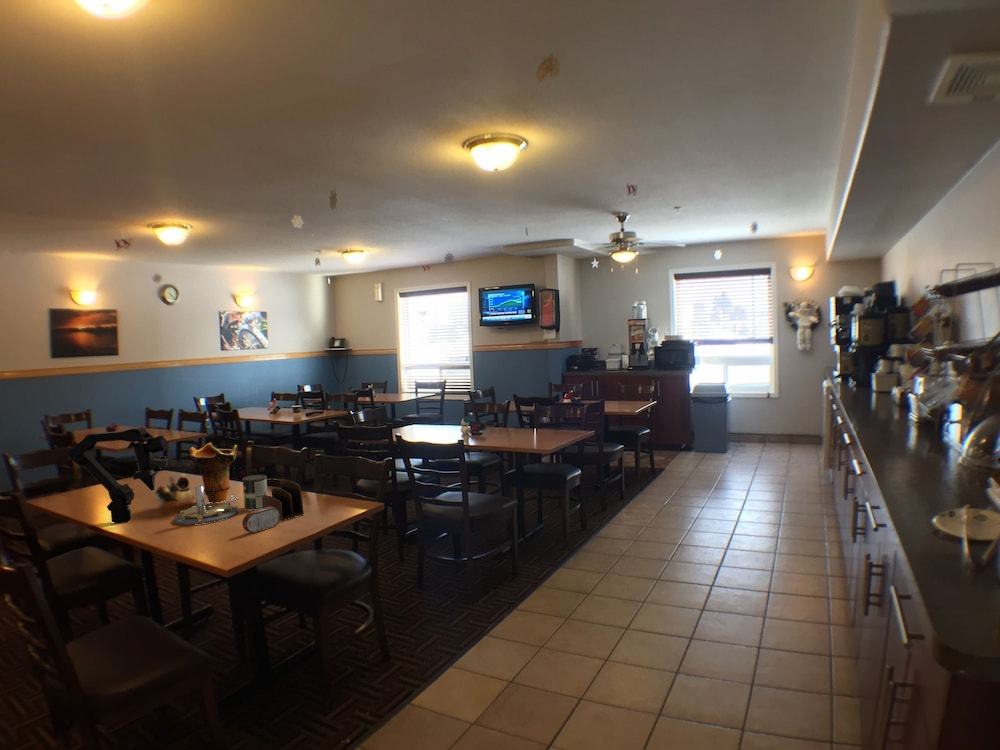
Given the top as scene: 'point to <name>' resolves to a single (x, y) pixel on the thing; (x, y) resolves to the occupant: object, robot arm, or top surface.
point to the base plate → (206, 518)
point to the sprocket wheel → (205, 507)
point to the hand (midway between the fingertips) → (152, 490)
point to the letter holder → (285, 499)
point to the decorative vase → (214, 470)
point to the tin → (261, 519)
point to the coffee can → (254, 491)
